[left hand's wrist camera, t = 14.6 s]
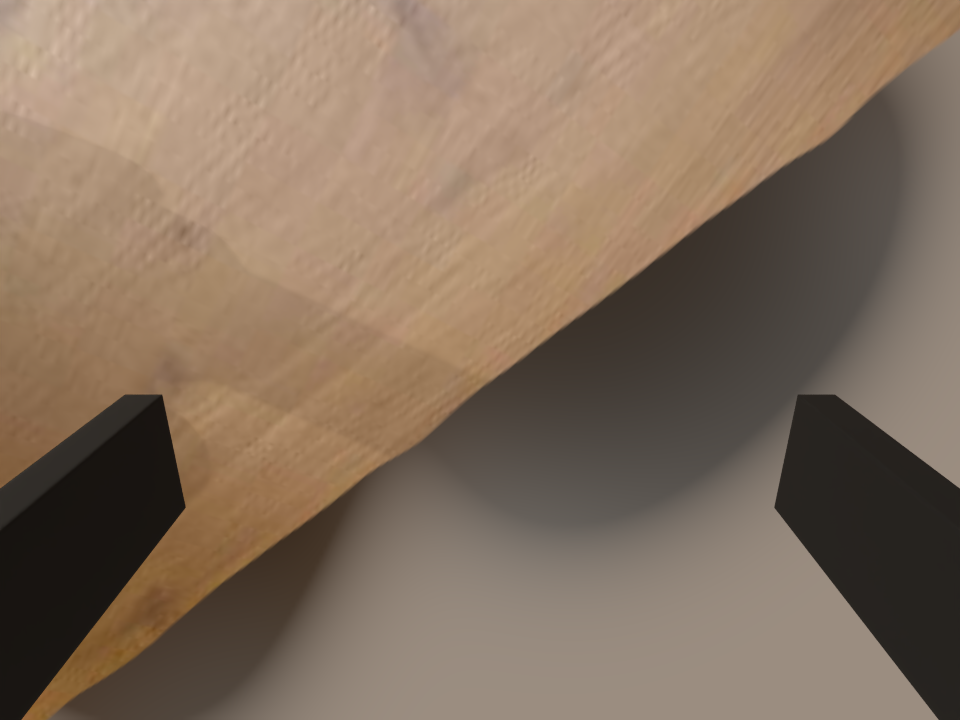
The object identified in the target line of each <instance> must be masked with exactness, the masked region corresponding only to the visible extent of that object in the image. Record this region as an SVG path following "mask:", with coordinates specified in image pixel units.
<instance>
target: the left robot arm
mask: <svg viewBox="0 0 960 720" xmlns="http://www.w3.org/2000/svg"><path fill="white" fill-rule="evenodd" d="M185 508H186V507H185V502H184V497H183V492H182V488H181V483H180V478H179V473H178V468H177V464H176V459H175V454H174V449H173V444H172V440H171V435H170V430H169V425H168V420H167V416H166V411H165V406H164V401H163V397H162V395H124V396H123V397H121V398H120V399H119V400H117V401H116V402H115V403H113V404H112V405H111V406H109V407H108V408H107V409H105V410H104V411H103V412H101V413H100V414H99V415H97V416H96V417H95V418H93V419H92V420H91V421H89V422H88V423H87V424H85V425H84V426H83V427H81V428H80V429H79V430H77V431H76V432H75V433H73V434H72V435H71V436H69V437H68V438H67V439H66V440H64V441H63V442H62V443H60V444H59V445H58V446H56V447H55V448H54V449H52V450H51V451H50V452H48V453H47V454H46V455H44V456H43V457H42V458H40V459H39V460H38V461H36V462H35V463H34V464H32V465H31V466H30V467H28V468H27V469H26V470H24V471H23V472H22V473H20V474H19V475H18V476H16V477H15V478H14V479H12V480H11V481H10V482H8V483H7V484H6V485H4V486H3V487H2V488H0V720H21V719H22V718H23V717H24V716H25V714H26V713H27V712H28V710H29V709H30V708H31V706H32V705H33V704H34V703H35V701H36V700H37V699H38V697H39V696H40V695H41V694H42V692H43V691H44V690H45V688H46V687H47V686H48V685H49V683H50V682H51V681H52V679H53V678H54V677H55V675H56V674H57V673H58V672H59V670H60V669H61V668H62V666H63V665H64V664H65V663H66V661H67V660H68V659H69V657H70V656H71V655H72V654H73V652H74V651H75V650H76V648H77V647H78V646H79V645H80V643H81V642H82V641H83V639H84V638H85V637H86V635H87V634H88V633H89V632H90V630H91V629H92V628H93V626H94V625H95V624H96V623H97V621H98V620H99V619H100V617H101V616H102V615H103V614H104V612H105V611H106V610H107V608H108V607H109V606H110V604H111V603H112V602H113V601H114V599H115V598H116V597H117V595H118V594H119V593H120V592H121V590H122V589H123V588H124V586H125V585H126V584H127V583H128V581H129V580H130V579H131V577H132V576H133V575H134V574H135V572H136V571H137V570H138V568H139V567H140V566H141V564H142V563H143V562H144V561H145V559H146V558H147V557H148V555H149V554H150V553H151V552H152V550H153V549H154V548H155V546H156V545H157V544H158V543H159V541H160V540H161V539H162V537H163V536H164V535H165V533H166V532H167V531H168V530H169V528H170V527H171V526H172V524H173V523H174V522H175V521H176V519H177V518H178V517H179V515H180V514H181V513H182V512H183V510H184V509H185ZM775 509H776V510H777V512H778V513H779V514H780V515H781V517H782V518H783V519H784V521H785V522H786V523H787V524H788V526H789V527H790V528H791V530H792V531H793V532H794V533H795V535H796V536H797V537H798V539H799V540H800V541H801V543H802V544H803V545H804V546H805V548H806V549H807V550H808V552H809V553H810V554H811V555H812V557H813V558H814V559H815V561H816V562H817V563H818V564H819V566H820V567H821V568H822V570H823V571H824V572H825V573H826V575H827V576H828V577H829V579H830V580H831V581H832V583H833V584H834V585H835V586H836V588H837V589H838V590H839V591H840V593H841V594H842V595H843V597H844V598H845V599H846V601H847V602H848V603H849V604H850V606H851V607H852V608H853V610H854V611H855V612H856V614H857V615H858V616H859V617H860V619H861V620H862V621H863V623H864V624H865V625H866V626H867V628H868V629H869V630H870V632H871V633H872V634H873V635H874V637H875V638H876V639H877V641H878V642H879V643H880V644H881V646H882V647H883V648H884V650H885V651H886V652H887V654H888V655H889V656H890V657H891V659H892V660H893V661H894V663H895V664H896V665H897V666H898V668H899V669H900V670H901V672H902V673H903V674H904V675H905V677H906V678H907V679H908V681H909V682H910V683H911V685H912V686H913V687H914V688H915V690H916V691H917V692H918V693H919V695H920V696H921V697H922V699H923V700H924V701H925V703H926V704H927V705H928V706H929V708H930V709H931V710H932V712H933V713H934V714H935V716H936V717H937V718H938V719H939V720H960V488H958V487H957V486H956V485H954V484H953V483H952V482H950V481H949V480H948V479H946V478H945V477H944V476H942V475H941V474H940V473H938V472H937V471H936V470H934V469H933V468H932V467H930V466H929V465H928V464H926V463H925V462H924V461H922V460H921V459H920V458H918V457H917V456H916V455H914V454H913V453H912V452H910V451H909V450H908V449H906V448H905V447H904V446H902V445H901V444H900V443H898V442H897V441H896V440H894V439H893V438H892V437H891V436H889V435H888V434H886V433H885V432H884V431H882V430H881V429H880V428H879V427H877V426H876V425H875V424H873V423H872V422H871V421H869V420H868V419H867V418H865V417H864V416H863V415H861V414H860V413H859V412H857V411H856V410H855V409H853V408H852V407H851V406H849V405H848V404H847V403H845V402H844V401H843V400H841V399H840V398H839V397H837V396H836V395H798V396H797V401H796V406H795V411H794V416H793V420H792V425H791V430H790V435H789V440H788V444H787V449H786V454H785V459H784V464H783V468H782V473H781V478H780V483H779V488H778V492H777V497H776V502H775Z"/></svg>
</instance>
